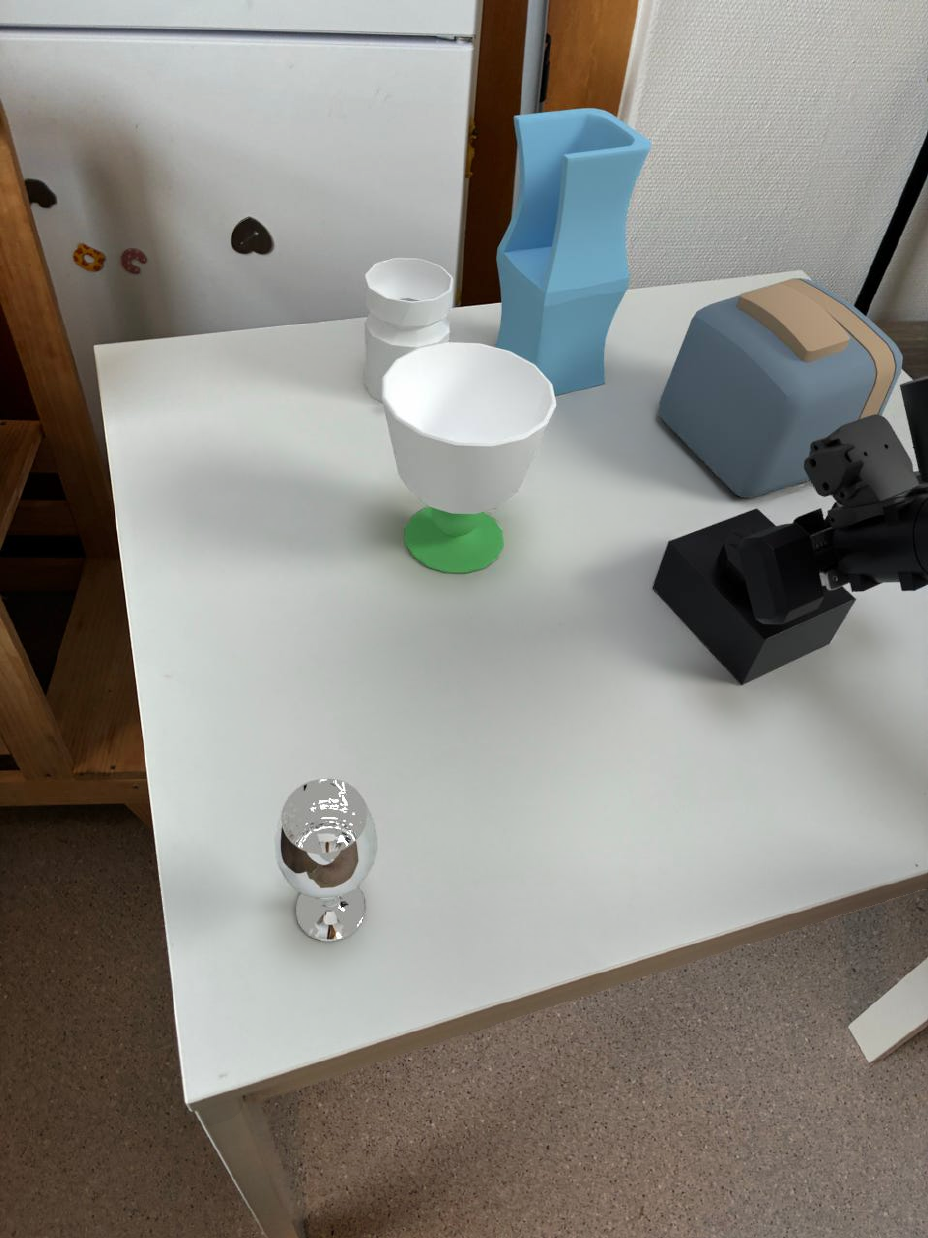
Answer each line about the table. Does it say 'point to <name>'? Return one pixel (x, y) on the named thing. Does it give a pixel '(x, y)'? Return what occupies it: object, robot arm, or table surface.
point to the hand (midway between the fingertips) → (769, 549)
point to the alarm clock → (775, 381)
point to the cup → (463, 444)
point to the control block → (738, 601)
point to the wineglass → (326, 855)
